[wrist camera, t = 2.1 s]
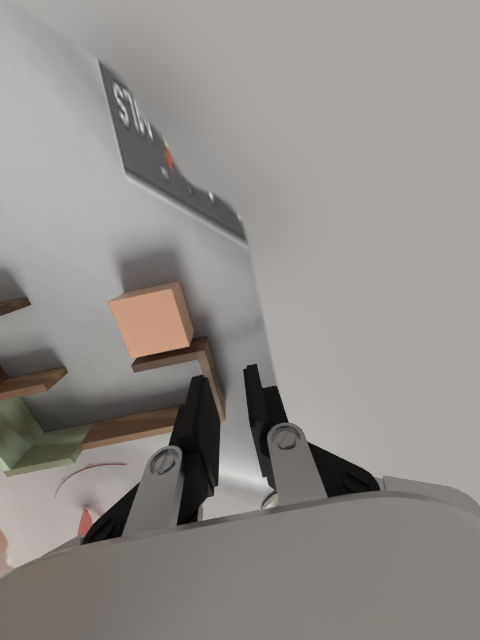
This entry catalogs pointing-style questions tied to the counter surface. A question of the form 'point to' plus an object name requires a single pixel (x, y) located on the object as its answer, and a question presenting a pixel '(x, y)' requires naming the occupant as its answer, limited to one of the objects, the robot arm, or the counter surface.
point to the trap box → (66, 444)
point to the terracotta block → (153, 319)
